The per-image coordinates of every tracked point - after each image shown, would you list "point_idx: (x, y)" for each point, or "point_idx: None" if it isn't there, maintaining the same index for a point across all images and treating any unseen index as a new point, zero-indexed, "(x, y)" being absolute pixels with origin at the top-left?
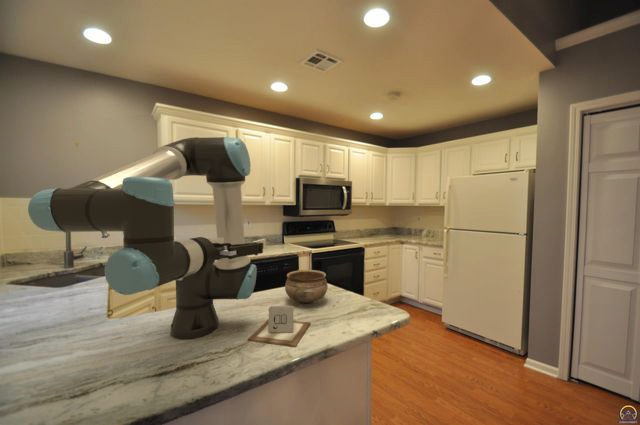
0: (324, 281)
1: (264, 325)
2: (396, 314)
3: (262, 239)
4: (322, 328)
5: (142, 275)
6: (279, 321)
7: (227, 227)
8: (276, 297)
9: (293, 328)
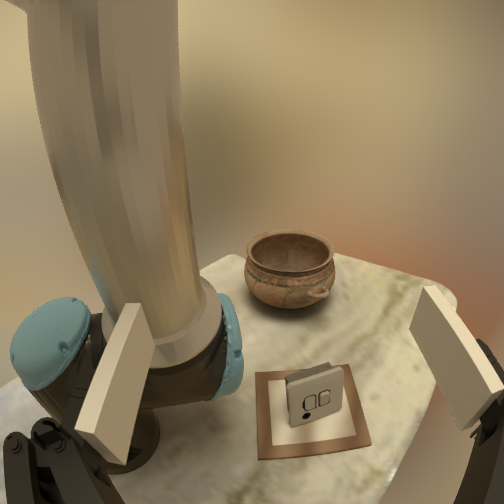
0: (332, 258)
1: (262, 402)
2: (443, 293)
3: (441, 302)
4: (377, 371)
5: None
6: (315, 404)
7: (127, 212)
8: None
9: None
